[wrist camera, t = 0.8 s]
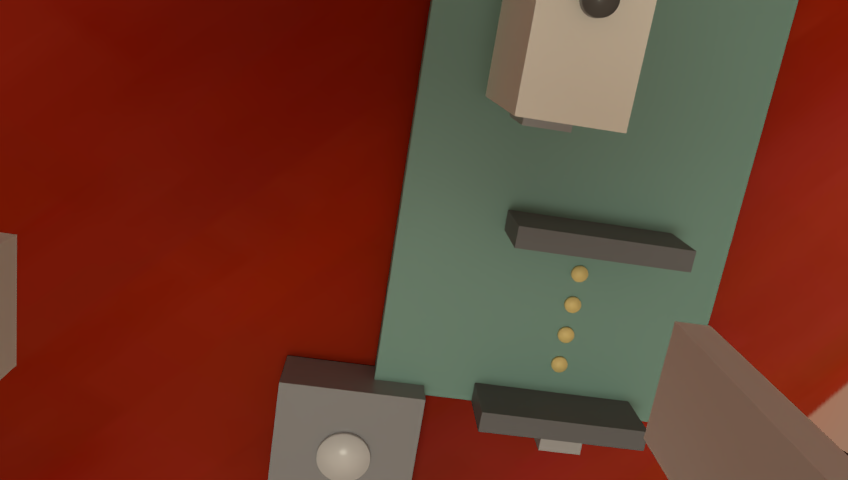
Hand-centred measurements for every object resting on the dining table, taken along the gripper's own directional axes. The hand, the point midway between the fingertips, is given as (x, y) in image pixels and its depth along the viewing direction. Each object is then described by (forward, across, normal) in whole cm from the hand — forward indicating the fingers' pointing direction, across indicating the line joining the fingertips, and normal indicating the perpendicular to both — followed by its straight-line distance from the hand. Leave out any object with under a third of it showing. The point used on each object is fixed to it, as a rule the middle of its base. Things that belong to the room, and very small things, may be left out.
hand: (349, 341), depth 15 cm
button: (+21, +1, -14) cm, 26 cm away
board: (+21, +10, 0) cm, 23 cm away
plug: (+20, +7, +7) cm, 22 cm away
